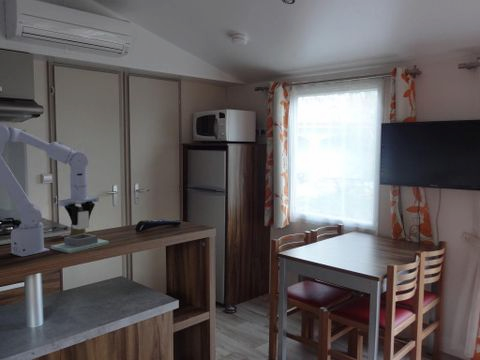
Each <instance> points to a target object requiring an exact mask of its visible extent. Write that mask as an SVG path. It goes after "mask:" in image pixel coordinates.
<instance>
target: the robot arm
mask: <svg viewBox="0 0 480 360" xmlns="http://www.w3.org/2000/svg"><path fill="white" fill-rule="evenodd" d="M10 140H11V141H10ZM9 141H10V142H11V143H15V142H16V143H17V142H18V143H21V142H22V143H23V144H26V145H29V146H31V147H34V148H36V149H39V150H41V151H44V152H45V153H46V155H47V157H48V158H51V159H53V160H55V161H58V162H59V163H63V164H65V165H69V166H70V171H69V172H70V173H69V182H70V183H69V185H70V186H69V187H70V198H67V199H61V200H58V207H64V209H65V210H66V212H67V213H68V216H69V219H70V222H71V224H72V225H77V223H78V218H77V215H78V209H79V207H83V210H85V211H88V212H89V220H90V219H91V218H90V217H91V215H92V211H93V210H94V208H95V205H96V204H95V203H97V202H99V201H100V199H99V196H96V195H93V196H89V187H88V186H89V185H88V184H89V183H88V169H87V166H88V164H89V159H88V157H87V156H86V154H84V153H83V152H80V151H77V149H76V148H71V147H68V146H66V145H64V144H63V142H61V141H53V142H51V143H50V142H48V141H45V140H43V139H41V138H39V137H37V136H35V135H32V134H31V133H29V132H26V131H24V130H22V129H19V128H16V127H12V126H7V125H5V124H3V123H0V185H1V186H2V188H3V189H4V191H5V192H6V193H7V195H8V197H9V198H10V200H11V202H12V203H13V204H14V206H15V208H16V210H17V211H18V214H19V216H20V217H19V218H20V224H19V225H18V228H14V229H12V230H11V231H10V249H11V251H10V254H11V253H12V255H15V256H19V257H27V256H30V255H31V256H32V255H35V254H36V255H37V254H39V253H44V252H49V251H50V249H51V248H46V247H45V238H44V223H43V222H42V219H43V217H42V213H41V210H40V208H39V207H38V206H36V205H34V204H33V202H32V201H31V200H30V198H29V197H28V195H27V194H26V192H25V191H24V190H23V189H24V188H23V187H22V186H21V185H20V183H19V181H18V180H17V178H16V176H15V175H14V173H13V172H12V171H11V169H10V167H9V165H8V164H7V163H6V162H5V159H4V158H3V156H2V154H3V151H4V149H5V146H6V144H7V143H8V142H9ZM79 205H80V206H79Z"/></svg>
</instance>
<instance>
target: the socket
mask: <svg viewBox="0 0 480 360" xmlns="http://www.w3.org/2000/svg"><path fill="white" fill-rule="evenodd" d="M98 237H99V236H98V235H96V234H95V235H94V234H90V233H89V234H88V233H86V234H85V233H84V234H79V235H74V236H70V235H69V236H65V237H64V242H63V243H59V244H53V245H50V249H51V250H54V251H59V252H63V253H67V254H71V253H75V252H76V253H77V252H80V251H84V250H88V249H93V248H96V247H99V246H100V247H101V246H106V245H108V244H109V243H110V241H109V240H106V239H101V238H98Z"/></svg>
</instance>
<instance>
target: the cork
mask: <svg viewBox="0 0 480 360" xmlns="http://www.w3.org/2000/svg"><path fill="white" fill-rule="evenodd" d="M86 231H87V230H86V228H84V229H74V228H72V223H71V224H70V233H69V234H70V235H69V236H74V235H79V234H84V233H85V234H87V232H86Z"/></svg>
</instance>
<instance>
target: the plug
mask: <svg viewBox="0 0 480 360" xmlns="http://www.w3.org/2000/svg"><path fill="white" fill-rule="evenodd" d="M77 218H78V223H77V225H72V228H74V229H84V228H85V229H89V228H90V219H89V212H88V211H85V210H83V207H81V206H79V209H78V215H77Z"/></svg>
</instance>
